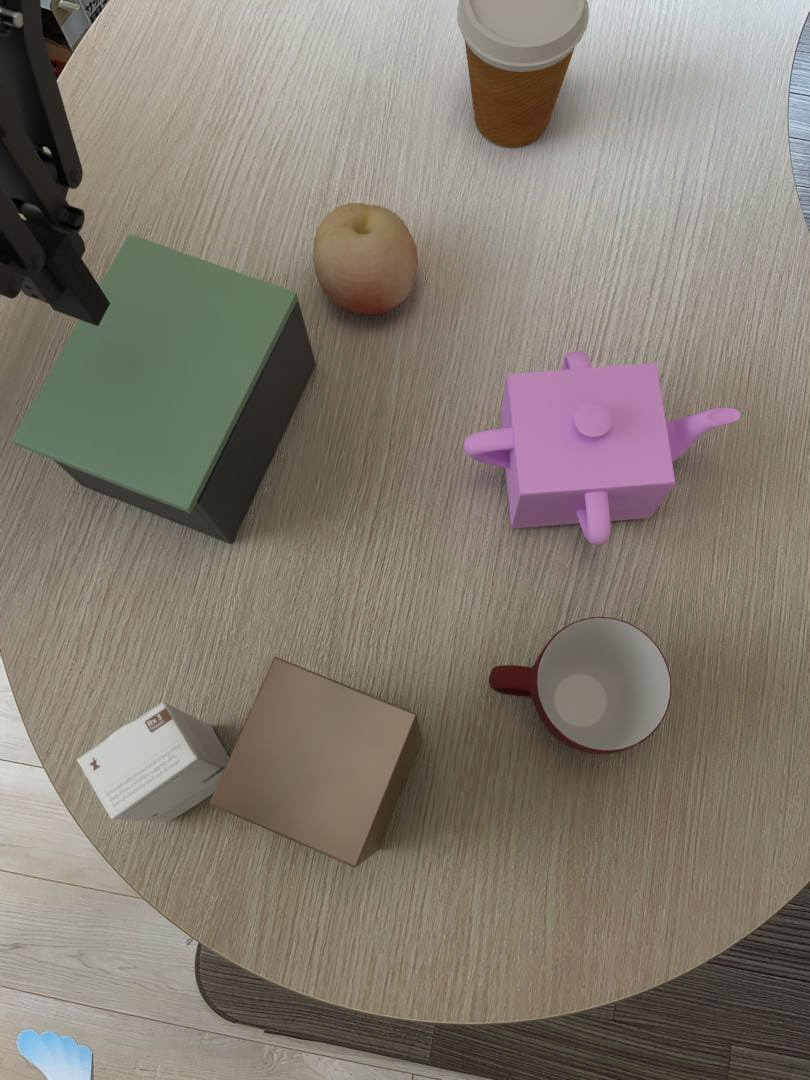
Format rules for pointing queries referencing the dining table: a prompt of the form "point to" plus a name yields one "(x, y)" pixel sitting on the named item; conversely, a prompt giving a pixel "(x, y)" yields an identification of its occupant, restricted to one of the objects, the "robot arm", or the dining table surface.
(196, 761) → the cosmetic box
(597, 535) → the teapot
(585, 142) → the dining table surface
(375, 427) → the dining table surface
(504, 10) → the disposable coffee cup
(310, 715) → the stand
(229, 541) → the bin
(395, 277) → the fruit
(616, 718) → the mug
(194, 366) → the bin lid
